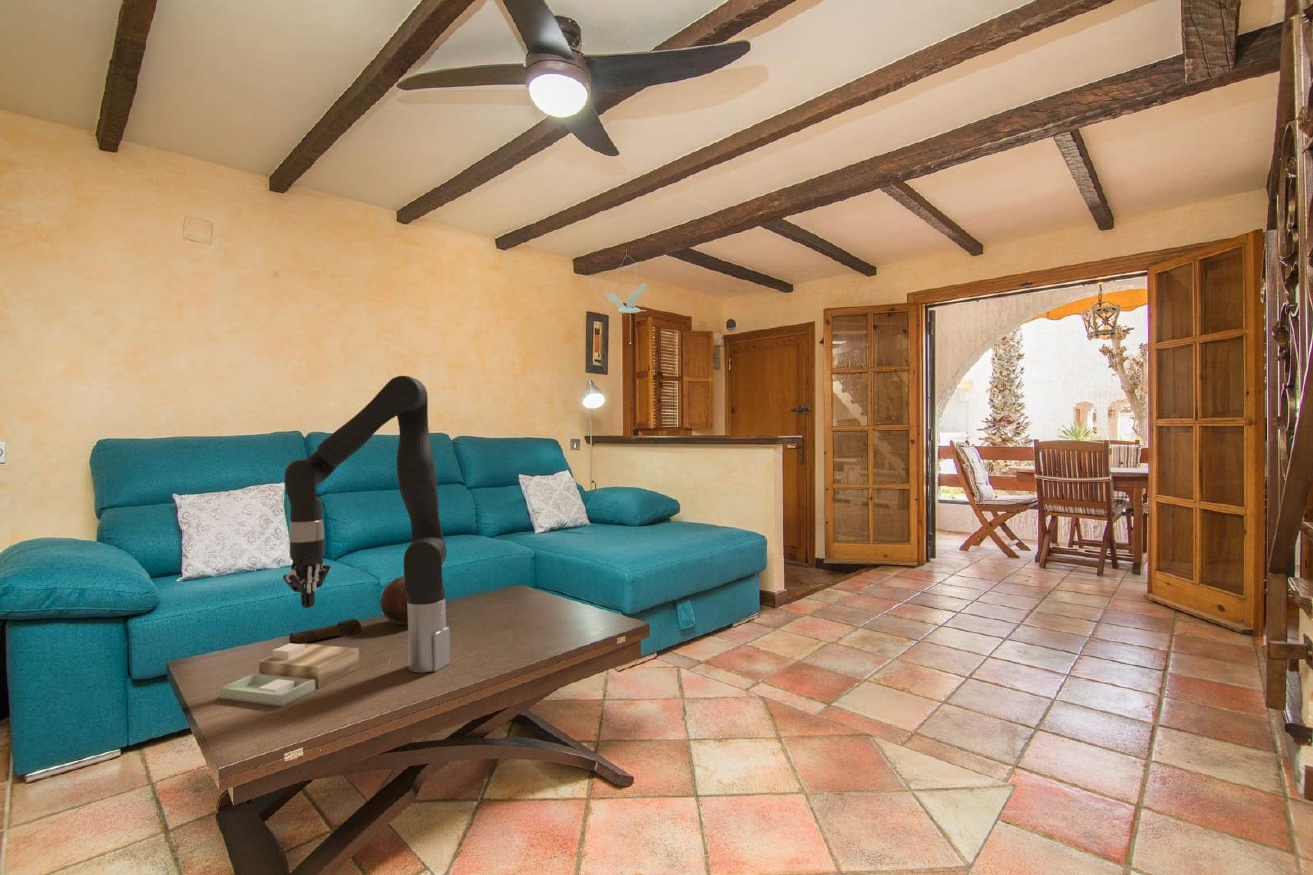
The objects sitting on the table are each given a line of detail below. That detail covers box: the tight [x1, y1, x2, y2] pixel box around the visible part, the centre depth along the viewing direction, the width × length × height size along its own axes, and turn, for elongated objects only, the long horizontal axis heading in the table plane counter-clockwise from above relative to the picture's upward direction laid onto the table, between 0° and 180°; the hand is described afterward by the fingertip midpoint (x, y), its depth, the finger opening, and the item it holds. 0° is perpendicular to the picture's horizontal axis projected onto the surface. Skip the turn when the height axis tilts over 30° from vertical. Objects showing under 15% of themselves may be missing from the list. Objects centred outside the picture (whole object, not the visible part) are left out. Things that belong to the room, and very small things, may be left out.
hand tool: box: [288, 618, 362, 644], centre depth 180 cm, size 19×4×5 cm, turn 127°
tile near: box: [259, 679, 295, 693], centre depth 141 cm, size 5×5×2 cm
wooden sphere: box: [380, 575, 408, 625], centre depth 194 cm, size 15×15×15 cm
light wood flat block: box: [258, 643, 360, 689], centre depth 153 cm, size 18×13×5 cm
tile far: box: [272, 642, 305, 660], centre depth 153 cm, size 5×5×2 cm
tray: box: [219, 672, 316, 708], centre depth 141 cm, size 18×9×2 cm, turn 74°
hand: (308, 606), depth 153 cm, fingers closed
